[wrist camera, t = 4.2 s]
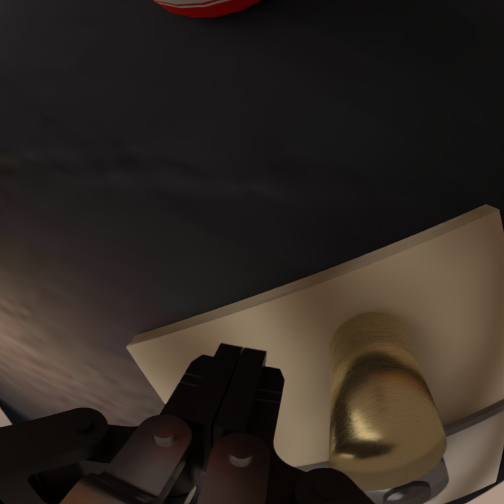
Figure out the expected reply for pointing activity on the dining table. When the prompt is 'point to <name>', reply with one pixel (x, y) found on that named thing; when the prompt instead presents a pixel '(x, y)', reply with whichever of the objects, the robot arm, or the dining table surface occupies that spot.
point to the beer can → (205, 7)
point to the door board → (363, 301)
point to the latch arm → (383, 413)
